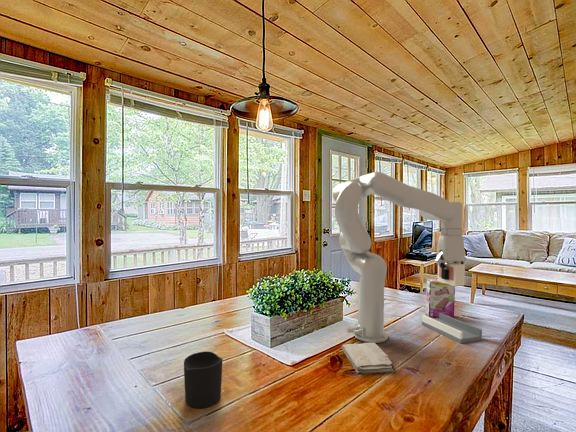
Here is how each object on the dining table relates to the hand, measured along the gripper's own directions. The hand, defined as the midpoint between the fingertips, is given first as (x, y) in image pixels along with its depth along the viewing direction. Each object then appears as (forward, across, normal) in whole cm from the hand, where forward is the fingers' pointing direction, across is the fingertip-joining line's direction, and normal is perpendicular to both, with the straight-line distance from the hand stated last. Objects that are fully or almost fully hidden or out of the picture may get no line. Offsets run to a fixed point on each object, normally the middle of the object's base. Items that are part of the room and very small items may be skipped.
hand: (450, 278), depth 129 cm
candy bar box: (+22, -11, -17) cm, 30 cm away
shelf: (+21, 0, 0) cm, 21 cm away
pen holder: (+21, +96, +18) cm, 100 cm away
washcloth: (+22, +45, +11) cm, 51 cm away
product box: (+2, 0, 0) cm, 2 cm away
